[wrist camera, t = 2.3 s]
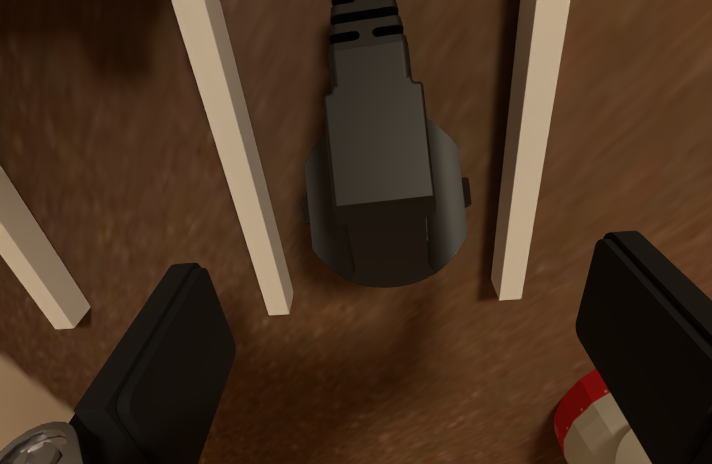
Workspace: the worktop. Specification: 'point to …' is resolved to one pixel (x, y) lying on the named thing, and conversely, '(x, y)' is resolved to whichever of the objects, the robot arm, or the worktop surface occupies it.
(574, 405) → the kitchen timer
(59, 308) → the cable organizer
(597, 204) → the worktop surface
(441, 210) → the power plug
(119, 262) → the worktop surface
